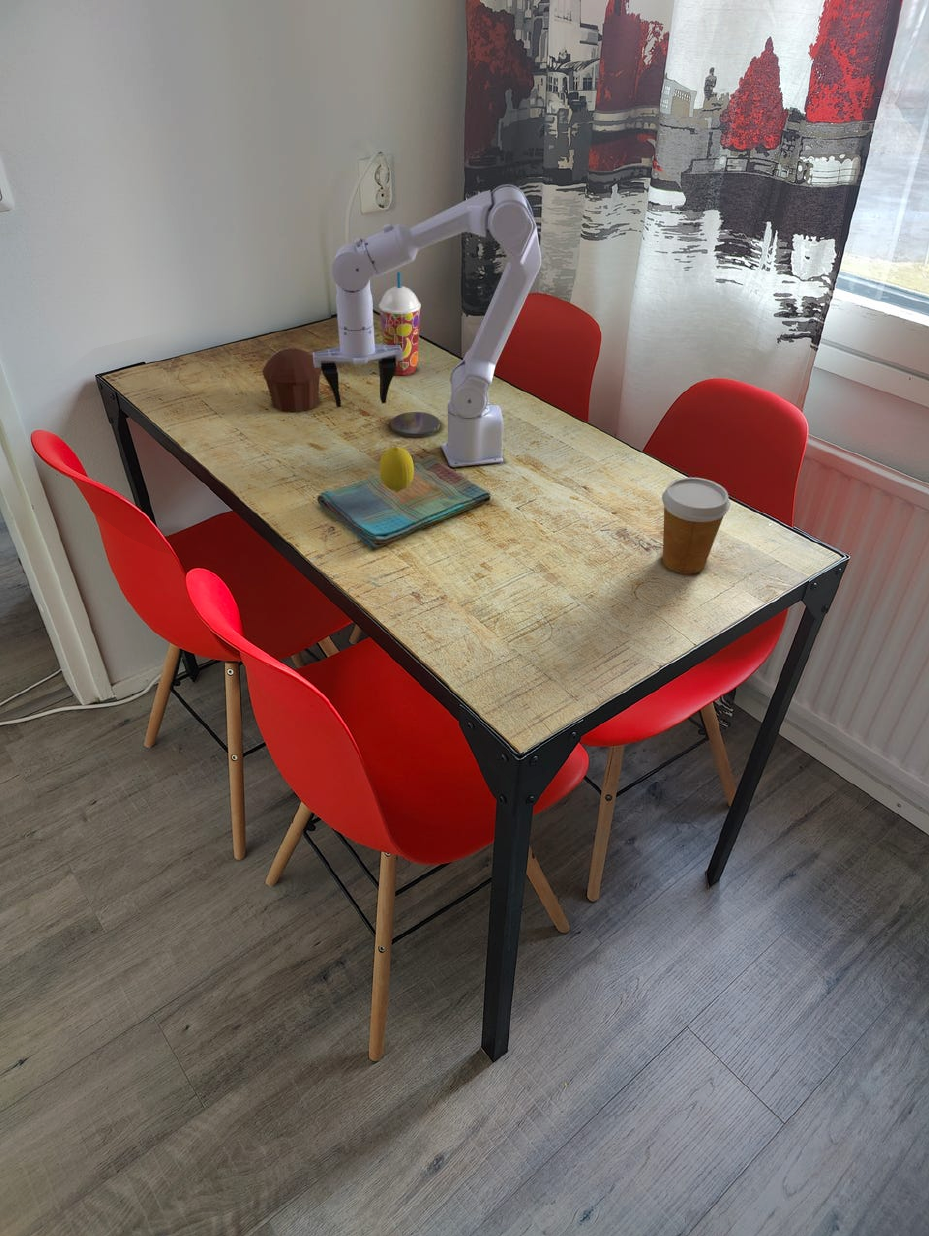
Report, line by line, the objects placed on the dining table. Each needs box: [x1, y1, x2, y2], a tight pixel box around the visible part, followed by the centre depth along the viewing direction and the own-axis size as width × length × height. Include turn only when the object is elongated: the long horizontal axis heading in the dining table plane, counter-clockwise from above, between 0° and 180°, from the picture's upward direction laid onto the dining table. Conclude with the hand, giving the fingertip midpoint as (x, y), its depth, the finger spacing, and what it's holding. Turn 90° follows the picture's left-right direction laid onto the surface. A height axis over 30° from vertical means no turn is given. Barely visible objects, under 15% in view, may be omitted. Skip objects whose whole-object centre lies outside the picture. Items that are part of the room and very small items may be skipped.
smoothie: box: [378, 271, 422, 376], centre depth 182 cm, size 8×8×20 cm
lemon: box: [378, 445, 414, 492], centre depth 142 cm, size 6×6×8 cm
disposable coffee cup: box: [661, 477, 731, 575], centre depth 131 cm, size 10×10×12 cm
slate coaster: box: [390, 411, 441, 438], centre depth 168 cm, size 9×9×1 cm
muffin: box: [262, 347, 322, 413], centre depth 173 cm, size 12×11×10 cm
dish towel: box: [316, 456, 491, 550], centre depth 146 cm, size 17×23×2 cm
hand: (360, 402), depth 153 cm, fingers open, 7 cm apart
